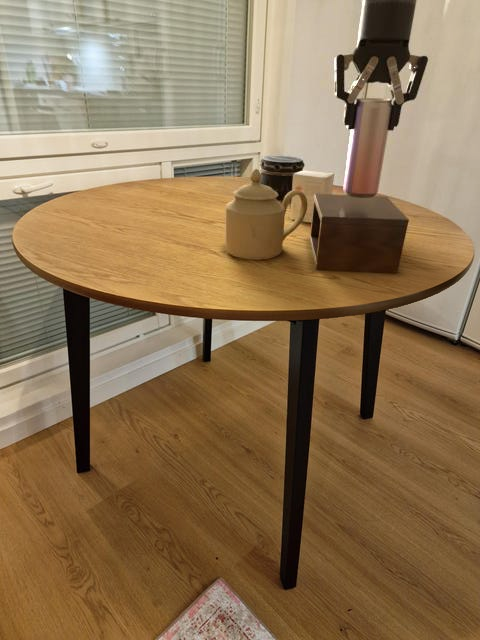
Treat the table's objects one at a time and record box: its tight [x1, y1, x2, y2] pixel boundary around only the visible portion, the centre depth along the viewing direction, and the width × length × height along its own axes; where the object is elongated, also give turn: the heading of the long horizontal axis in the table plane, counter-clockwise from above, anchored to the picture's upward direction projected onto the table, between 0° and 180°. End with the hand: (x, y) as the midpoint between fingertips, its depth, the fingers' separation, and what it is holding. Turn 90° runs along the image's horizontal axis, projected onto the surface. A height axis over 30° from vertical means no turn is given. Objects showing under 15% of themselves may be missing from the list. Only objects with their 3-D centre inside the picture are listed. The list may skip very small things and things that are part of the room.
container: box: [258, 155, 305, 200], centre depth 120 cm, size 13×13×10 cm
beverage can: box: [342, 97, 393, 198], centre depth 71 cm, size 6×6×15 cm
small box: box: [290, 169, 335, 223], centre depth 98 cm, size 8×6×10 cm
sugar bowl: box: [224, 168, 307, 261], centre depth 79 cm, size 15×11×15 cm
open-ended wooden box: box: [309, 194, 410, 274], centre depth 78 cm, size 14×16×9 cm
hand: (369, 129), depth 70 cm, fingers closed on beverage can, 6 cm apart
